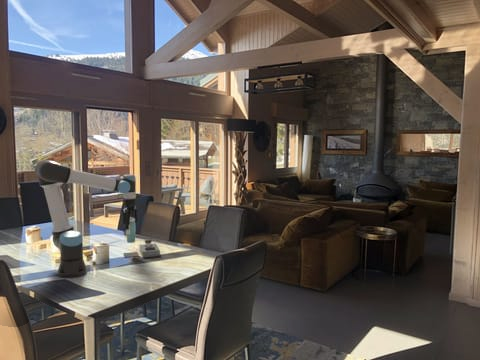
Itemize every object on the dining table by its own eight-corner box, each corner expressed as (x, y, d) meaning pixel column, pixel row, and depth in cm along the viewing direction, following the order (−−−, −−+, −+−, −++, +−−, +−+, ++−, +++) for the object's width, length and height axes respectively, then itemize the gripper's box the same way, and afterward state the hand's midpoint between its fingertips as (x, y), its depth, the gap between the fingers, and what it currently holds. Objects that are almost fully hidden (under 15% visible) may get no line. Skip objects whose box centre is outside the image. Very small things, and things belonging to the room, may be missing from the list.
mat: (124, 257, 243) (124, 257, 243) (123, 253, 251) (123, 253, 251) (138, 256, 246) (138, 255, 246) (137, 252, 254) (137, 251, 254)
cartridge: (132, 243, 244) (131, 218, 243) (125, 242, 246) (124, 218, 244) (137, 241, 250) (136, 217, 248) (130, 240, 251) (129, 216, 250)
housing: (159, 256, 247) (159, 250, 247) (142, 257, 243) (142, 251, 243) (155, 249, 263) (155, 243, 263) (139, 250, 259) (139, 244, 259)
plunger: (145, 251, 255) (145, 241, 254) (144, 249, 259) (144, 239, 258) (152, 250, 256) (152, 240, 256) (151, 249, 261) (151, 238, 260)
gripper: (126, 200, 235) (127, 237, 238) (142, 196, 252) (143, 230, 255) (116, 200, 237) (117, 236, 240) (133, 196, 255) (134, 229, 257)
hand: (130, 233), depth 247 cm, fingers closed on cartridge, 5 cm apart
